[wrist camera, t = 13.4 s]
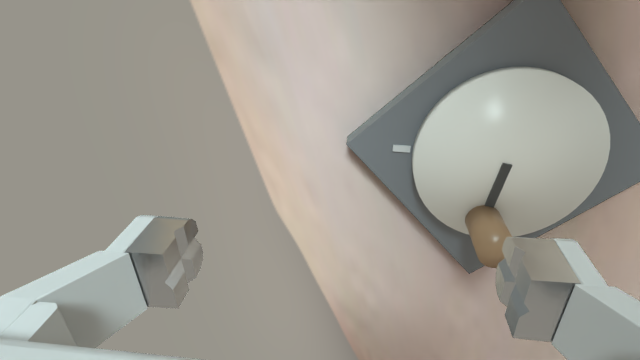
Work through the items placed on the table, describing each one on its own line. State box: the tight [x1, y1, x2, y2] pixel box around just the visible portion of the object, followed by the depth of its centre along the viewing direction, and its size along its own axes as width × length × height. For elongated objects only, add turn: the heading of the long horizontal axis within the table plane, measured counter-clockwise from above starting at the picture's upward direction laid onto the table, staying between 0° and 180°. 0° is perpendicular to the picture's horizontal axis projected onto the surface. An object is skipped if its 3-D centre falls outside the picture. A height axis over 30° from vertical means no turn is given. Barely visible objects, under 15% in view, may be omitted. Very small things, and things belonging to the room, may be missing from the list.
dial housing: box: [347, 0, 640, 274], centre depth 36 cm, size 20×20×2 cm
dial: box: [412, 66, 610, 268], centre depth 33 cm, size 16×16×6 cm
